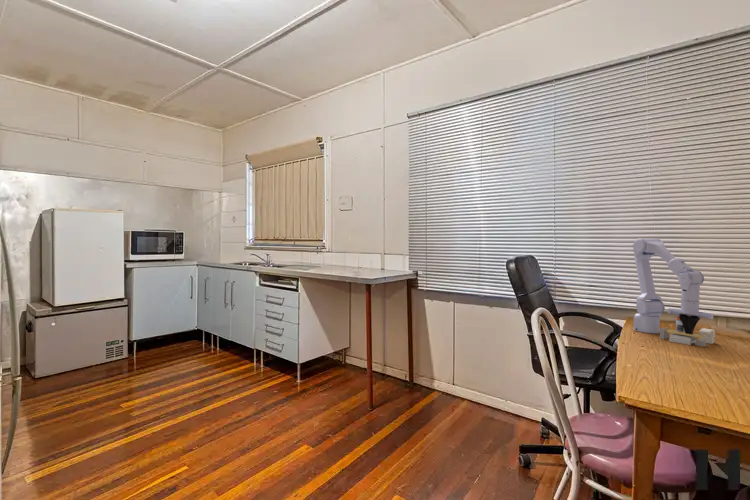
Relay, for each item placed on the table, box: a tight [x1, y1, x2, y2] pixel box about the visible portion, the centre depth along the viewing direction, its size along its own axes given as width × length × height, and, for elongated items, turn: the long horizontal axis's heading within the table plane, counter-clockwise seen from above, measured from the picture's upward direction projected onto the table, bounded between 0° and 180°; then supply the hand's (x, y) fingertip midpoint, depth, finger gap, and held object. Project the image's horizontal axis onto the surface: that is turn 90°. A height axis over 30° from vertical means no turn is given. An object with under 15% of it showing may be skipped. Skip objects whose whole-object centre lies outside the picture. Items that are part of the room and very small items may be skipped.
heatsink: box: [668, 333, 697, 346], centre depth 160 cm, size 7×7×3 cm
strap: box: [665, 329, 704, 339], centre depth 160 cm, size 13×2×1 cm, turn 35°
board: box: [659, 326, 707, 348], centre depth 160 cm, size 16×22×6 cm
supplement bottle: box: [675, 313, 691, 332], centre depth 175 cm, size 6×6×11 cm
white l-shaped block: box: [697, 327, 716, 345], centre depth 158 cm, size 4×7×5 cm, turn 125°
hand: (688, 333), depth 158 cm, fingers closed, pressing on strap
